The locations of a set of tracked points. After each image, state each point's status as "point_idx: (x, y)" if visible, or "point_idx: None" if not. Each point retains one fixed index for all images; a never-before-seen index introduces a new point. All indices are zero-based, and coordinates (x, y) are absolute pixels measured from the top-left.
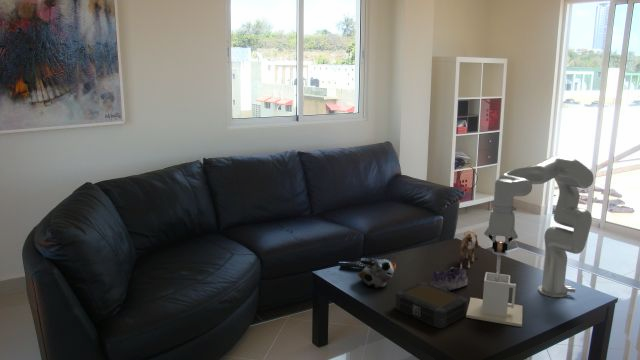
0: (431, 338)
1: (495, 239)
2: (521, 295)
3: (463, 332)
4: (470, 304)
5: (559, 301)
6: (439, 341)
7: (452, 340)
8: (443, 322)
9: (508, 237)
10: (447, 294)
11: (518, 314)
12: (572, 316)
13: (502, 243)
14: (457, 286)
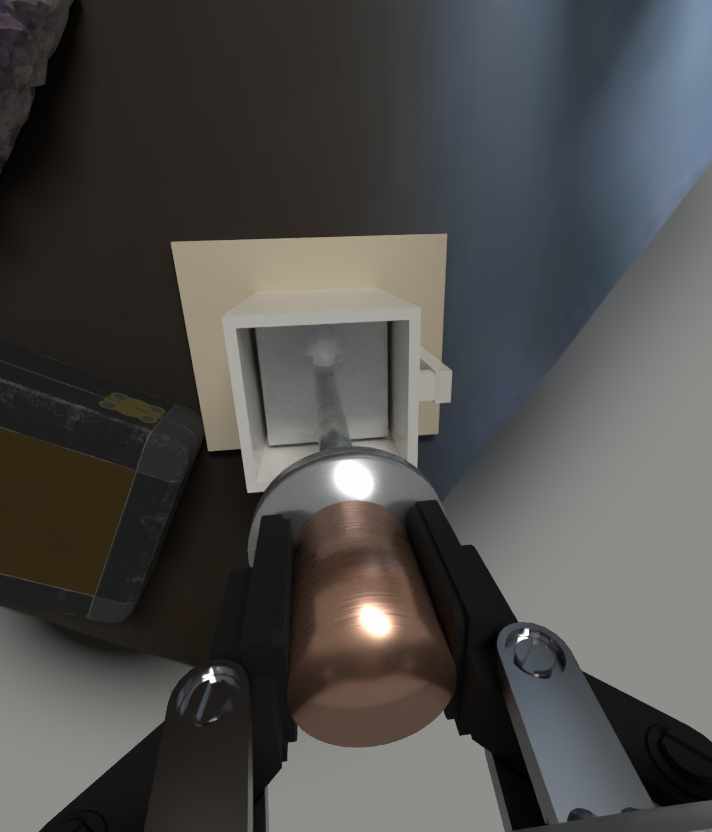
0: (147, 634)
1: (258, 735)
2: (444, 27)
3: (235, 557)
4: (195, 337)
5: (647, 36)
6: (179, 638)
7: (215, 616)
8: (148, 579)
9: (617, 776)
10: (63, 453)
11: (425, 349)
12: (657, 230)
13: (421, 728)
14: (31, 84)
